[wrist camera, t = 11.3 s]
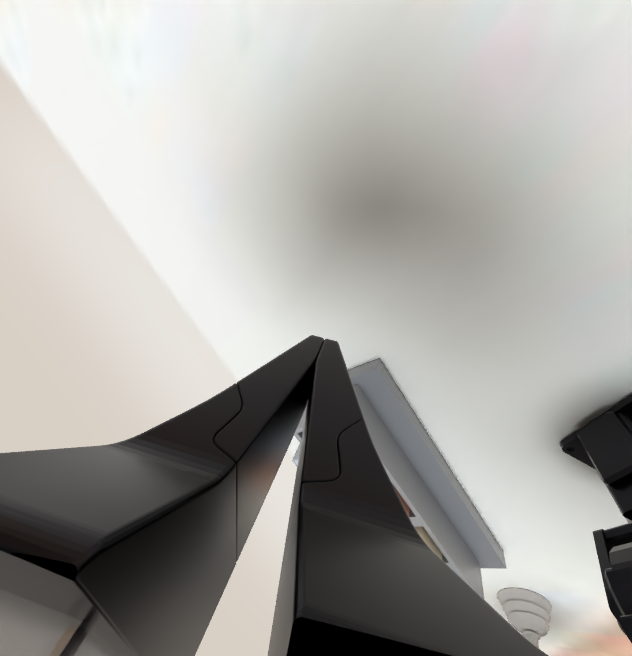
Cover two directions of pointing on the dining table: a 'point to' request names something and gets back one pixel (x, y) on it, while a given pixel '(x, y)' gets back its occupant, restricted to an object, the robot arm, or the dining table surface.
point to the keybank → (422, 476)
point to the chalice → (526, 612)
